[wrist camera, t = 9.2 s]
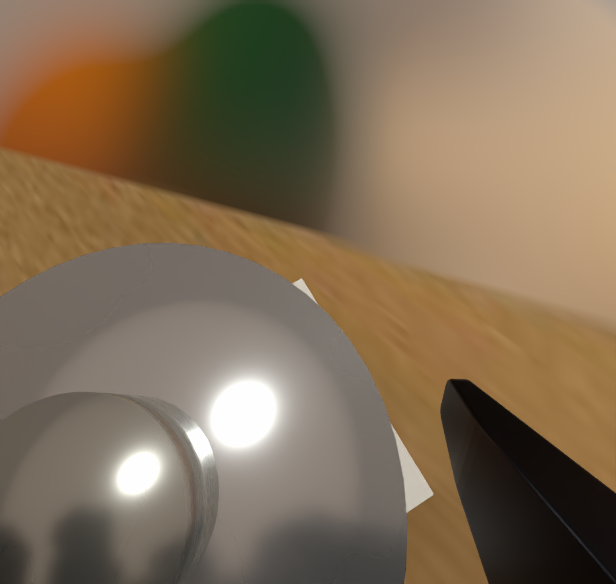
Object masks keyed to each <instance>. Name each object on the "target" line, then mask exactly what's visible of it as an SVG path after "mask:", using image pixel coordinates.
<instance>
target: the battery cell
mask: <svg viewBox="0 0 616 584" xmlns="http://www.w3.org/2000/svg"><path fill="white" fill-rule="evenodd" d="M406 549H407V512H406V500H405V488H404V478H403V473H402V468H401V463H400V458H399V453H398V448H397V443H396V438H395V435H394V432H393V429H392V426H391V423H390V420H389V417H388V414H387V411H386V408H385V405H384V402H383V400H382V398H381V396H380V393H379V391H378V389H377V387H376V385H375V383H374V381H373V378H372V376H371V374H370V372H369V370H368V368H367V367H366V365H365V364H364V362H363V360H362V359H361V357H360V356H359V354H358V352H357V351H356V349H355V348H354V346H353V344H352V343H351V341H350V340H349V339H348V337H347V336H346V335H345V334H344V333H343V331H342V330H341V329H340V328H339V327H338V325H337V324H336V323H335V322H334V320H333V319H332V318H331V317H330V316H329V315H328V314H327V313H326V312H325V311H324V310H323V309H322V308H321V307H320V306H319V305H318V304H317V303H316V302H314V301H313V300H312V299H311V298H310V297H309V296H308V295H307V294H306V293H304V292H303V291H302V290H300V289H299V288H297V287H296V286H295V285H293V284H292V283H290V282H289V281H288V280H286V279H285V278H283V277H282V276H280V275H278V274H276V273H275V272H273V271H271V270H269V269H267V268H265V267H263V266H261V265H259V264H258V263H256V262H253V261H250V260H248V259H245V258H242V257H240V256H237V255H234V254H232V253H229V252H225V251H221V250H216V249H212V248H208V247H203V246H197V245H187V244H177V243H145V244H136V245H129V246H122V247H114V248H110V249H106V250H102V251H98V252H94V253H91V254H87V255H83V256H80V257H78V258H75V259H73V260H70V261H67V262H65V263H62V264H59V265H57V266H54V267H52V268H50V269H48V270H46V271H44V272H42V273H40V274H38V275H36V276H34V277H32V278H30V279H28V280H26V281H25V282H23V283H21V284H20V285H18V286H17V287H15V288H13V289H12V290H10V291H9V292H7V293H6V294H4V295H2V296H1V297H0V584H404V578H405V572H406Z"/></svg>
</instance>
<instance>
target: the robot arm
mask: <svg viewBox="0 0 616 584" xmlns="http://www.w3.org/2000/svg"><path fill="white" fill-rule="evenodd" d="M440 414H441V420H442V425H443V429H444V434H445V438H446V443H447V447H448V452H449V456H450V461H451V465H452V470H453V474H454V479H455V483H456V487H457V490H458V493H459V496H460V500H461V503H462V506H463V509H464V512H465V515H466V518H467V521H468V524H469V526H470V529H471V532H472V535H473V538H474V541H475V544H476V547H477V550H478V553H479V556H480V559H481V562H482V565H483V568H484V571H485V574H486V577H487V580H488V583H489V584H616V493H615V492H614V491H612V490H611V489H610V488H608V487H607V486H606V485H604V484H603V483H602V482H601V481H599V480H598V479H597V478H595V477H594V476H593V475H591V474H590V473H589V472H588V471H586V470H585V469H584V468H582V467H581V466H580V465H578V464H577V463H576V462H575V461H573V460H572V459H571V458H569V457H568V456H567V455H565V454H564V453H563V452H562V451H560V450H559V449H558V448H556V447H555V446H554V445H553V444H551V443H550V442H549V441H547V440H546V439H545V438H543V437H542V436H541V435H540V434H538V433H537V432H536V431H534V430H533V429H532V428H530V427H529V426H528V425H527V424H525V423H524V422H523V421H521V420H520V419H519V418H517V417H516V416H515V415H514V414H512V413H511V412H510V411H508V410H507V409H506V408H504V407H503V406H502V405H501V404H499V403H498V402H497V401H495V400H494V399H493V398H492V397H490V396H489V395H488V394H486V393H485V392H484V391H482V390H481V389H480V388H479V387H477V386H476V385H475V384H473V383H472V382H471V381H469V380H466V379H449V380H448V381H447V383H446V386H445V390H444V395H443V399H442V403H441V409H440Z"/></svg>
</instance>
